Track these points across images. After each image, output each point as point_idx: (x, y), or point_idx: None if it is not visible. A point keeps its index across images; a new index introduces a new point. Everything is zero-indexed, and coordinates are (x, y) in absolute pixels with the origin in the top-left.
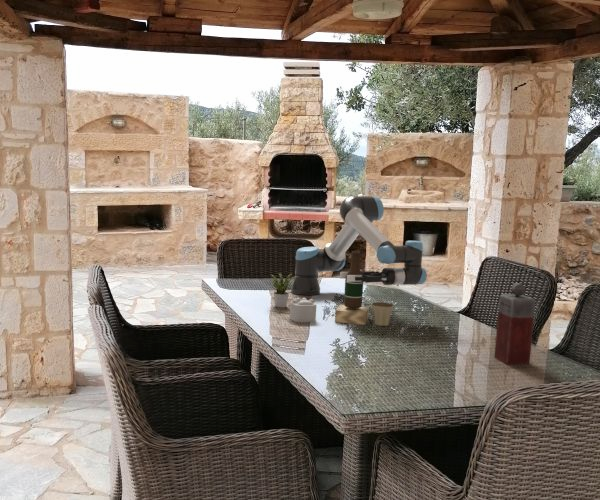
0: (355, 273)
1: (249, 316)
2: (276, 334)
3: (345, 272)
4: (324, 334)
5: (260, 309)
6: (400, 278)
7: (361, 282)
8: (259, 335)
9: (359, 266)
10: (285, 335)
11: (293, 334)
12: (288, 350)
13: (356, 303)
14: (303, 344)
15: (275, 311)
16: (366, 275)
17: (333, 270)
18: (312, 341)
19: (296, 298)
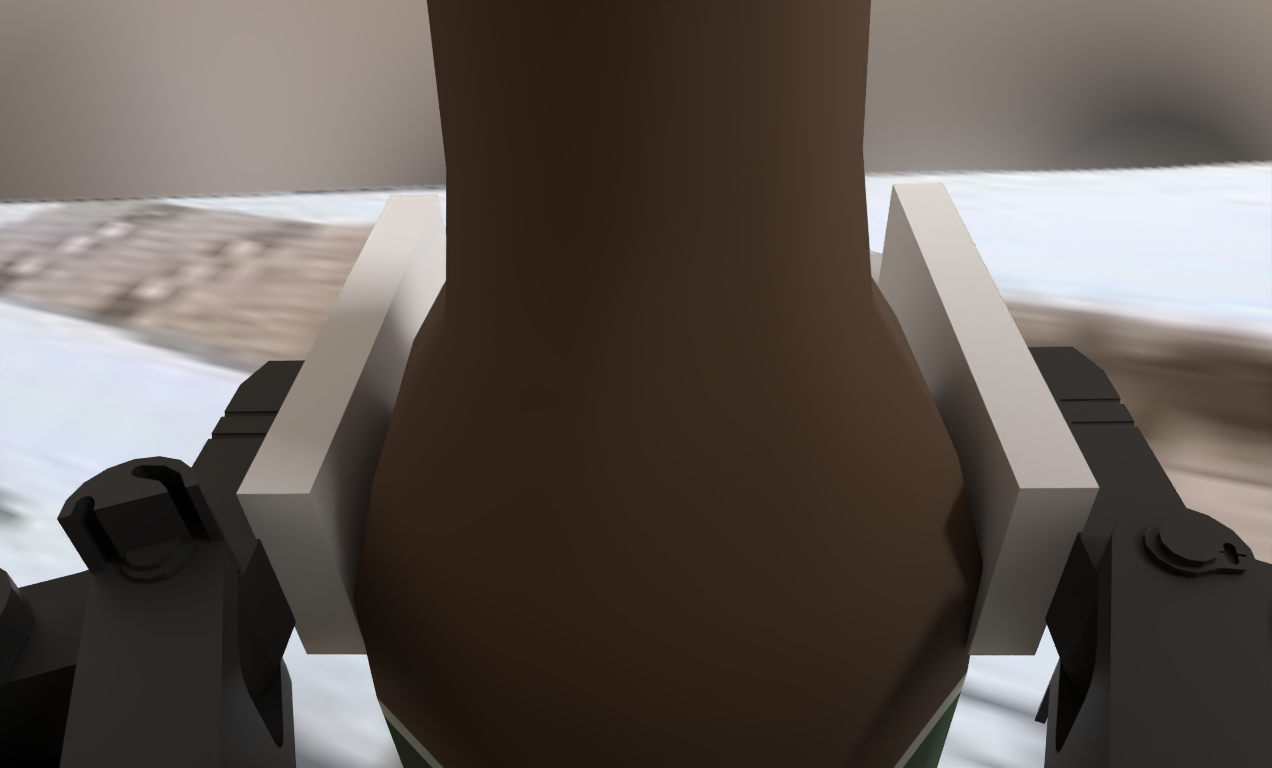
0: (429, 317)
1: (869, 206)
2: (360, 244)
3: (920, 259)
4: (187, 463)
5: (1138, 273)
6: None
7: (404, 723)
8: (381, 191)
9: (564, 212)
10: (313, 272)
11: (311, 306)
12: (24, 236)
13: None
14: (62, 304)
15: (1086, 338)
16: (173, 702)
17: None
18: (80, 354)
19: (880, 254)
